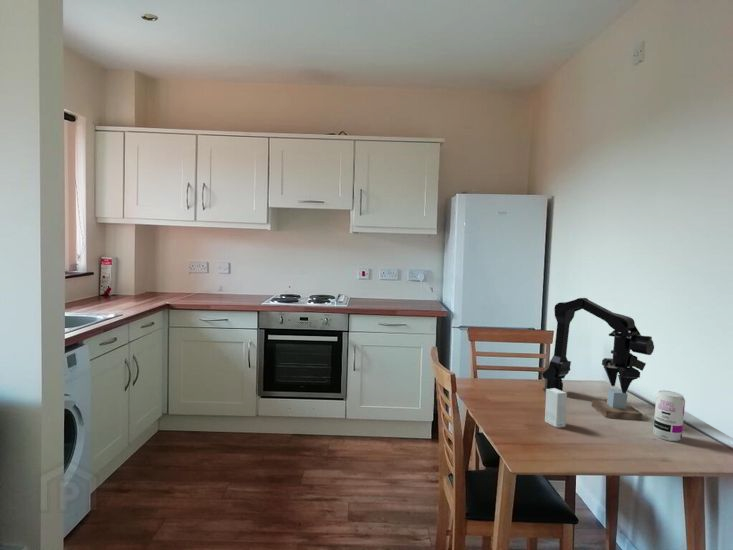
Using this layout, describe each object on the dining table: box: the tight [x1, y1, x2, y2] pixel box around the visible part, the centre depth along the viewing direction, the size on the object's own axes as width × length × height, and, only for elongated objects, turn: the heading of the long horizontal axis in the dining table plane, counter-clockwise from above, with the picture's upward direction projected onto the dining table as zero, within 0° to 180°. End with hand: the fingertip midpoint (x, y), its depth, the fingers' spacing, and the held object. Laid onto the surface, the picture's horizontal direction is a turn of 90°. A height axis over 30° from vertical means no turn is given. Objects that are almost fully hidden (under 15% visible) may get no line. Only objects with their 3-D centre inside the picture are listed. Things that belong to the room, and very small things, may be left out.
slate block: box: [606, 388, 628, 409], centre depth 182 cm, size 5×5×6 cm
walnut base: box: [591, 399, 643, 421], centre depth 182 cm, size 13×13×2 cm
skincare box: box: [544, 388, 568, 428], centre depth 166 cm, size 6×4×12 cm
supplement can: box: [652, 390, 686, 442], centre depth 159 cm, size 8×8×15 cm
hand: (618, 389), depth 181 cm, fingers open, 9 cm apart
